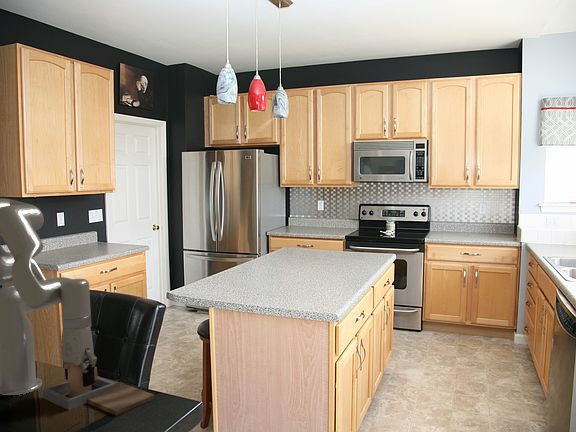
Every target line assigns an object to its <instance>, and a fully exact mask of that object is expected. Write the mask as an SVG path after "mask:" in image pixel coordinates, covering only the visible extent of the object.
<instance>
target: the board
mask: <svg viewBox="0 0 576 432" xmlns="http://www.w3.org/2000/svg"><path fill="white" fill-rule="evenodd" d="M155 397H156V395H155V394H154V393H150V392H148V391H145V390H142V389H139V388H138V387H134V386H131V385H129V384H126V383H125V384H123V385H120V386H117V388H115V389H112V390H109V391H107V392H104V393H101V394H99V395H96V396H93V397H91V398H88V399H87V403H86V404H88V405H91V406H93V407H95V408H97V409H100V410H102V411H104V412H107V413H108V414H111V415H114V416H118V415H121V414H123V413H126V412H127V411H130V410H133V409H134V408H137V407H140V406H142V405H144V404H146V403H149V402H151V401H153V400H155V399H156V398H155Z"/></svg>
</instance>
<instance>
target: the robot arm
mask: <svg viewBox="0 0 576 432" xmlns="http://www.w3.org/2000/svg"><path fill="white" fill-rule="evenodd" d="M44 221H45V218H44V214H43V212H42V211H41V209H40V208H39V207H37V206H35V204H30V203H27V202H22V201H18V200H15V199H11V198H10V199H9V198H5V197H4V198H3V197H2V198H0V237H1V239H2V240H3V242H4V243H5V245H6V247H7V248H8V250H9V252H7V251H6V250H5V249H4V247H3V246H2V245H1V243H0V286H3V285H5V286H3V287H1V288H0V394H2V395H19V396H21V395H20V394H23V395H26V393H27V394H29V392H30V393H32V392H34V390H35V391H36V390H38V389H39V388H41V387H42V385H43V380H42V379H41V378H39V377H37V372H36V371H37V370H36V369H37V368H36V353H35V351H36V350H35V335H34V327H33V324H32V322H31V321H30V319H29V318H28V316H27V314H30V313H32V312H36V311H39V310H43V309H45V308H47V307H51V306H54V305H55V306H56V305H59V304H60V307H61V308H60V309H61V321H62V322H61V325H62V329H61V345H60V346H61V349H60V350H61V360H62V361H63V365H64V364H66V363H70V364H73V365H75V366H79V365H80V364H81V366H82V368H83V371H84V373H82V374H83V386H84V387H87V386H90V385H91V386H93V385H92V384H94V383H95V377H94V370H95V367H97V360H98V358H97V356H96V355H95V353H94V351H95V350H94V343H93V341H94V340H93V335H92V329H91V327H92V314H91V313H92V312H91V311H92V310H91V297H90V296H91V293H90V283H89V280H87V279H86V278H69V277H64V276H62V277H54V278H49V279H46V277H45V274H43V272H42V270H41V268H40V266H39V265H38V263H37V261H36V260H35V258H36V257H37V256H38V255H39V254H41V252H42V251H43V250H44V245H45V244H44V243H43V241H42V239H41V238H40V236H39V234H38V233H37V232H36V231H39V230H40V229H41V228H42V227H43V225H44ZM7 284H8V285H7ZM87 359H88V360H87ZM85 360H87V361H85ZM83 361H84V362H83ZM88 363H89V364H88ZM85 364H88V366H87V367H86V365H85ZM64 378H65V380H66V381H68V369H66V368H64Z"/></svg>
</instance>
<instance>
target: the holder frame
mask: <svg viewBox="0 0 576 432" xmlns="http://www.w3.org/2000/svg"><path fill="white" fill-rule="evenodd" d="M97 379H98V380H95V383H94V384H92V385H91V386H94V387H97V388H94V389H92V391H89V392H87V393H84V394H81V395H78V396H76V397H73V398H69V396H66V395H64V393H66V392H69V386H68V380H66V381H63V382H60V383H57V384H55V385H52V386H49V387H46V388H43V389H42V398H43V399H44V400H46V401H49V402H51V403H53V404H54V405H57V406H59V407H61V408H63V409H66V410H67V411H71V410H73V409H76V408H78V407H81V406H83V405H86V404H88V403H87V399H88V398H91V397H93V396H96V395H99V394H101V393H104V392H107V391H109V390H112V389H115V388H117V387H118V383H117V382H114V381H112V380H109V379H106V378H103V377H101V376H99V375H97Z"/></svg>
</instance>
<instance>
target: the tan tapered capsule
mask: <svg viewBox="0 0 576 432" xmlns="http://www.w3.org/2000/svg"><path fill="white" fill-rule="evenodd" d="M87 360H88V359H87ZM87 360H85V361H87ZM83 362H84V361H83ZM88 364H89V363H88ZM88 364H85V365H86V367H87V366H88ZM65 368H66V369H68V380H67V381H68V386H69V391H68V398H73V397H76V396H78V395H81V394H84V393H87V392H89V391H92V390H93V387H92V386H93V385H90V386H87V387H84V386H83V374H82V373H84V371H83V368H82V366H81V364H80V365H79V366H75V365H73V364H70V363H66V364H64V363H63V369H65ZM97 376H98V368H97V366H95V370H94V377H95V380H98V379H97Z"/></svg>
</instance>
